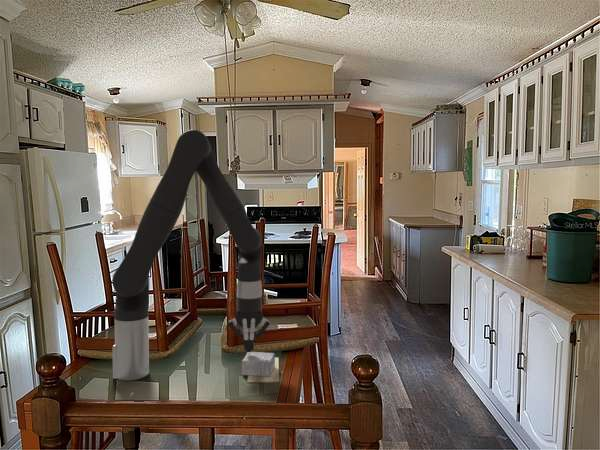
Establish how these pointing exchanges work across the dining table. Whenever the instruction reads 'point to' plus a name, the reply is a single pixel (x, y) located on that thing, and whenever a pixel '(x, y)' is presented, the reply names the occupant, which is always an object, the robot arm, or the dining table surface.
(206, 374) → the dining table surface
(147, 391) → the dining table surface
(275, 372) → the board
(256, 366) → the medicine box
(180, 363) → the dining table surface
